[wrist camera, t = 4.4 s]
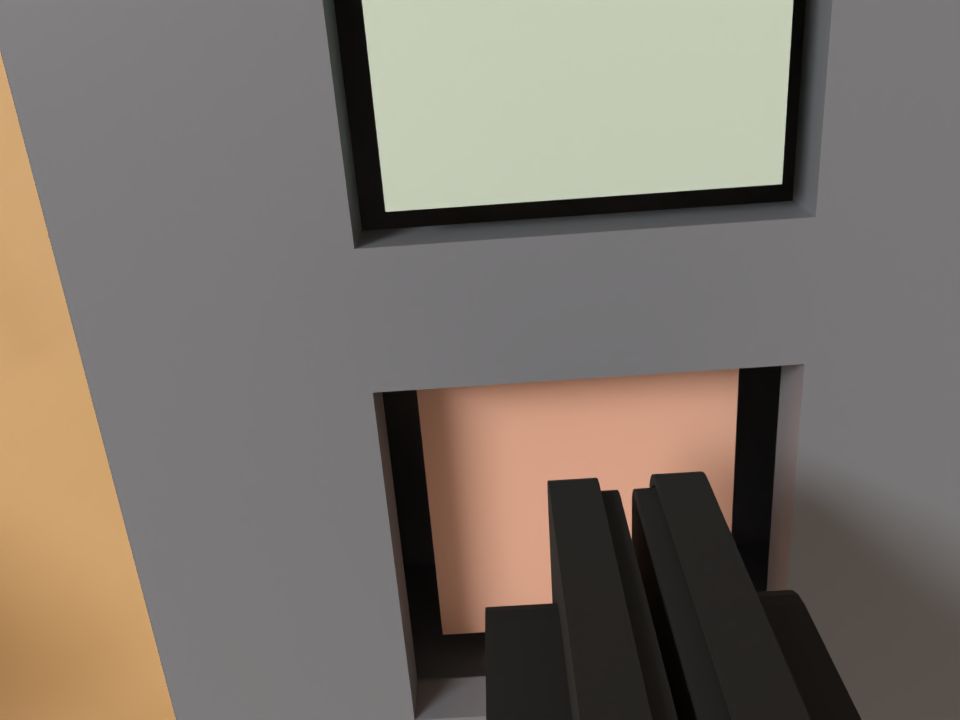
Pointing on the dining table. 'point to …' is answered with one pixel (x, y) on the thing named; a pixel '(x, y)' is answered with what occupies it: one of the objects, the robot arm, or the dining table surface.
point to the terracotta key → (555, 469)
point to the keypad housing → (485, 340)
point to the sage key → (575, 97)
